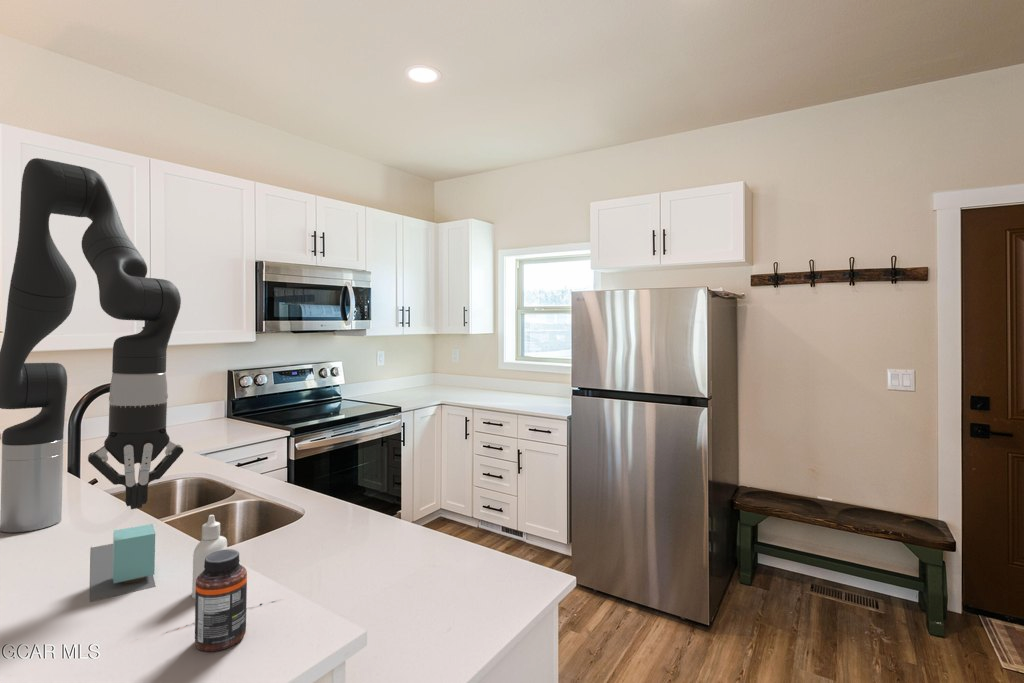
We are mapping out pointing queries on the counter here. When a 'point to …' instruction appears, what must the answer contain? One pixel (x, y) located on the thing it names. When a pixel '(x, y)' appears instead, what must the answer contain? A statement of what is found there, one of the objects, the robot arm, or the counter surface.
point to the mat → (110, 576)
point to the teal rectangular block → (133, 553)
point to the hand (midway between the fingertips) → (135, 507)
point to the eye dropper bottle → (207, 547)
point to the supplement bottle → (220, 601)
